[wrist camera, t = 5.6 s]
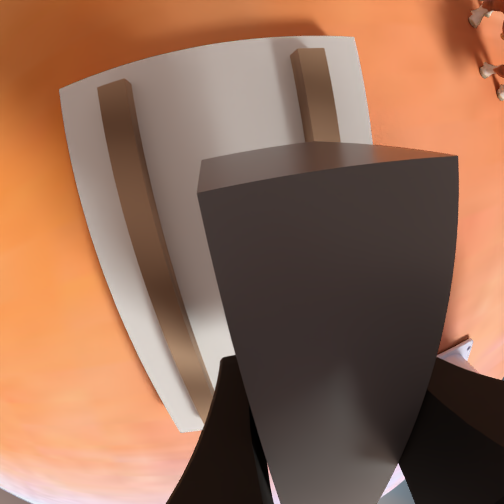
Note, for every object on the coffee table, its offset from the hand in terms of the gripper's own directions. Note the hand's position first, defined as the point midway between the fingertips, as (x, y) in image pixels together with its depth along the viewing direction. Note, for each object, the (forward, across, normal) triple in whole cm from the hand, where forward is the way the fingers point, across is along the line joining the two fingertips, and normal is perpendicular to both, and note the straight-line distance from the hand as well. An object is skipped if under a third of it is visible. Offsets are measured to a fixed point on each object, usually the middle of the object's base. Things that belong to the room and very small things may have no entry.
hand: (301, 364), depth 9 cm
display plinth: (+9, 0, 0) cm, 9 cm away
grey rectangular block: (+2, 0, 0) cm, 2 cm away
